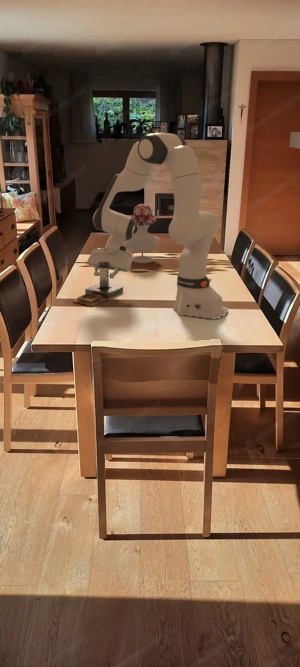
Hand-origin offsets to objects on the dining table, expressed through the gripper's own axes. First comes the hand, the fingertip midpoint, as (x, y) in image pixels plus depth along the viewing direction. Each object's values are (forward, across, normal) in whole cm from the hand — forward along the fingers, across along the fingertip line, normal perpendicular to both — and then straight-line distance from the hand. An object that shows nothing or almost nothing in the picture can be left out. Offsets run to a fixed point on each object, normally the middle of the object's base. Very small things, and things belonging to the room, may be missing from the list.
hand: (103, 276), depth 221 cm
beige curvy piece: (-39, -13, +50) cm, 65 cm away
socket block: (+5, 0, +6) cm, 8 cm away
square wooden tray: (+14, 0, -2) cm, 14 cm away
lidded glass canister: (+5, 0, +6) cm, 8 cm away
